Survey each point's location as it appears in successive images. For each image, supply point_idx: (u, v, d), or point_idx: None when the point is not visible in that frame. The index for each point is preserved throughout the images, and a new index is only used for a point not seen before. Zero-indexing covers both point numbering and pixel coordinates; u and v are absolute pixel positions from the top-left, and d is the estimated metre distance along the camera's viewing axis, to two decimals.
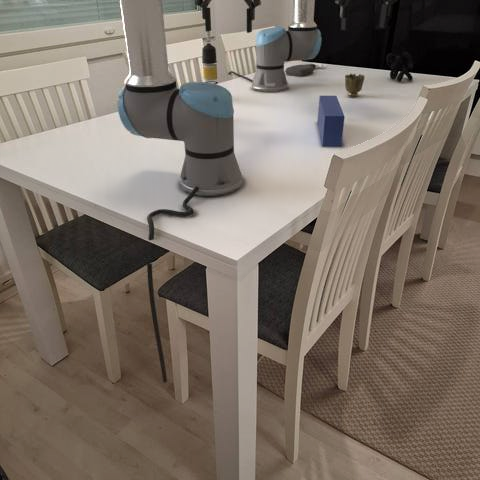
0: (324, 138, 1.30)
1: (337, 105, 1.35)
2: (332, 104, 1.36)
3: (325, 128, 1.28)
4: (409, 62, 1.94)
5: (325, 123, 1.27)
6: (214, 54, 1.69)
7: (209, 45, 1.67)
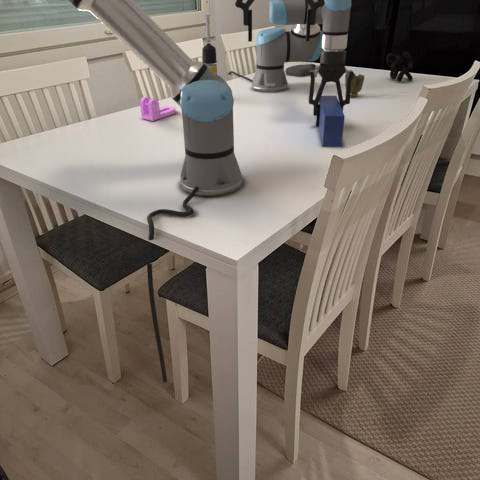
0: (324, 138, 1.30)
1: (337, 105, 1.35)
2: (332, 104, 1.36)
3: (325, 128, 1.28)
4: (409, 62, 1.94)
5: (325, 123, 1.27)
6: (214, 54, 1.69)
7: (209, 45, 1.67)
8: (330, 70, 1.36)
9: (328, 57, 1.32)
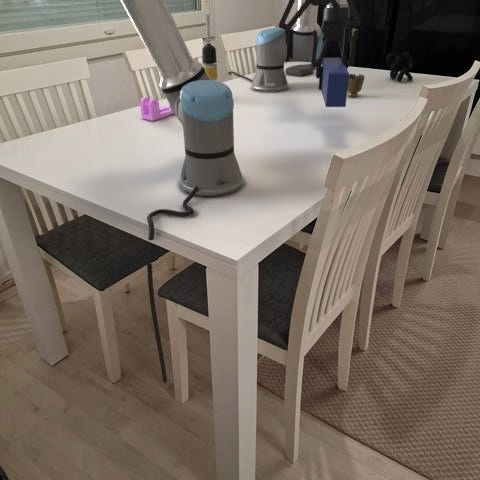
0: (327, 98, 1.24)
1: (341, 65, 1.29)
2: (336, 64, 1.30)
3: (329, 87, 1.22)
4: (409, 62, 1.94)
5: (329, 81, 1.21)
6: (214, 54, 1.69)
7: (209, 45, 1.67)
8: (334, 28, 1.30)
9: (331, 13, 1.26)
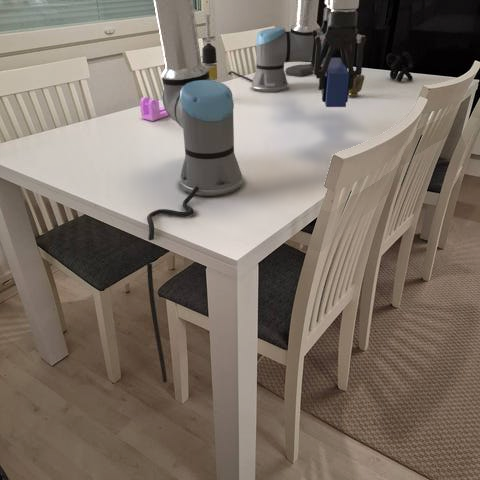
0: (328, 98, 1.24)
1: (341, 65, 1.29)
2: (336, 64, 1.30)
3: (329, 87, 1.22)
4: (409, 62, 1.94)
5: (329, 81, 1.21)
6: (214, 54, 1.69)
7: (209, 45, 1.67)
8: None
9: None
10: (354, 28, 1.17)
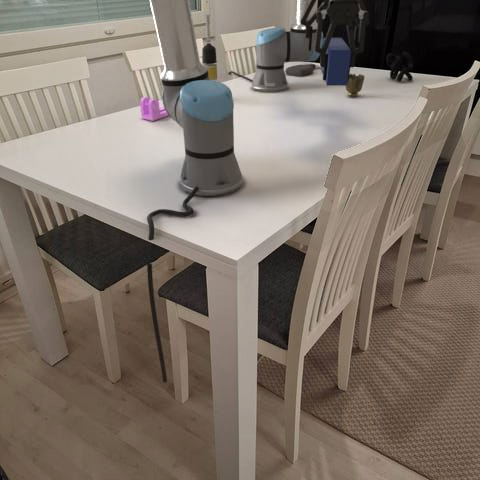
0: (329, 76, 1.20)
1: (343, 43, 1.26)
2: (337, 43, 1.27)
3: (330, 64, 1.19)
4: (409, 62, 1.94)
5: (330, 58, 1.18)
6: (214, 54, 1.69)
7: (209, 45, 1.67)
8: None
9: None
10: (357, 3, 1.14)
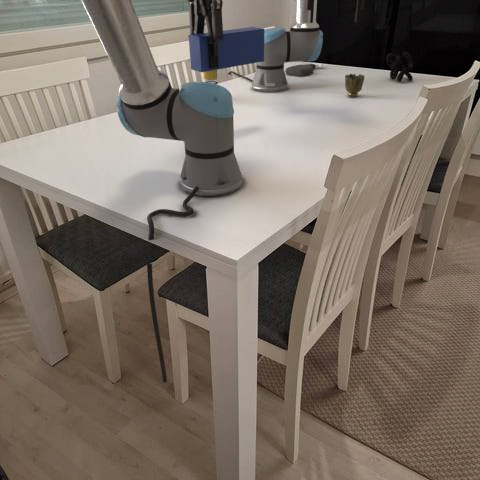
0: (191, 60, 1.26)
1: (230, 32, 1.25)
2: (229, 31, 1.26)
3: (190, 49, 1.24)
4: (409, 62, 1.94)
5: (189, 43, 1.23)
6: None
7: None
8: None
9: None
10: None
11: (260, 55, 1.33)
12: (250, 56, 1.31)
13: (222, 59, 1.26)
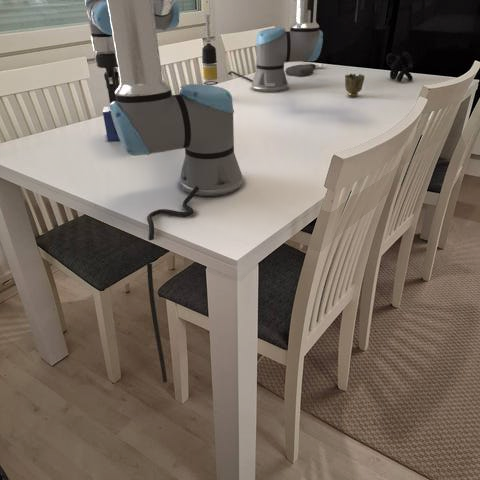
0: None
1: None
2: None
3: None
4: (409, 62, 1.94)
5: None
6: (214, 54, 1.69)
7: (209, 45, 1.67)
8: None
9: None
10: (106, 69, 1.27)
11: None
12: None
13: None
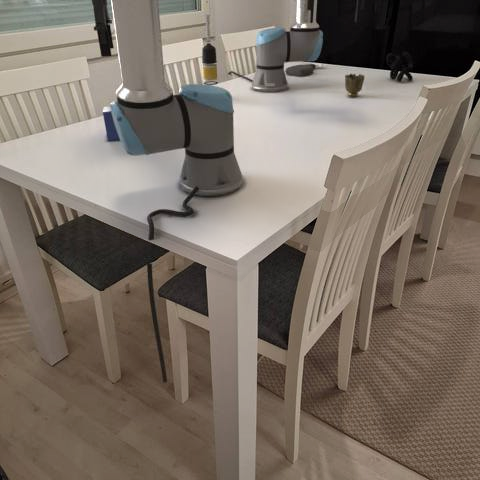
0: None
1: None
2: None
3: None
4: (409, 62, 1.94)
5: None
6: (214, 54, 1.69)
7: (209, 45, 1.67)
8: None
9: None
10: None
11: None
12: None
13: None
